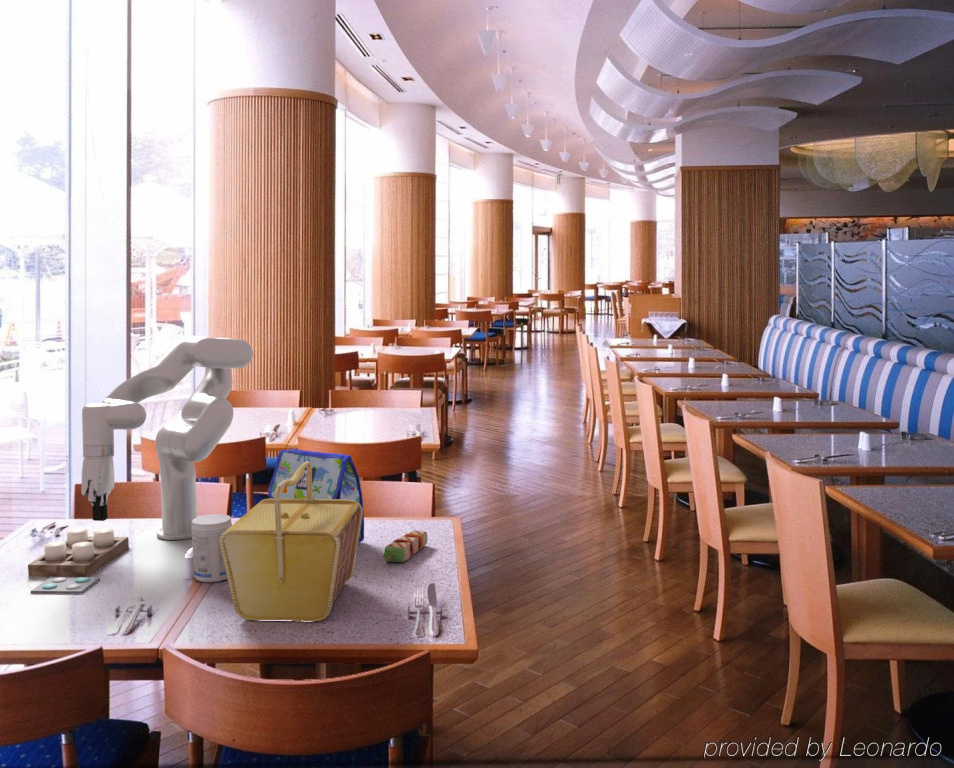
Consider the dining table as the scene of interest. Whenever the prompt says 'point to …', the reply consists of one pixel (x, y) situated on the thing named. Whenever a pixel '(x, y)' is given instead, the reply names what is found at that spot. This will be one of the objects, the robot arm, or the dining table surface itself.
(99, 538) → the button
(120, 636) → the dining table surface
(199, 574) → the supplement tub
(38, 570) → the button box
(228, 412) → the robot arm
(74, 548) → the button
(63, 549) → the button
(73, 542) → the button
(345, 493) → the lunch bag
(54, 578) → the tile
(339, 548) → the picnic basket
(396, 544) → the skewer
